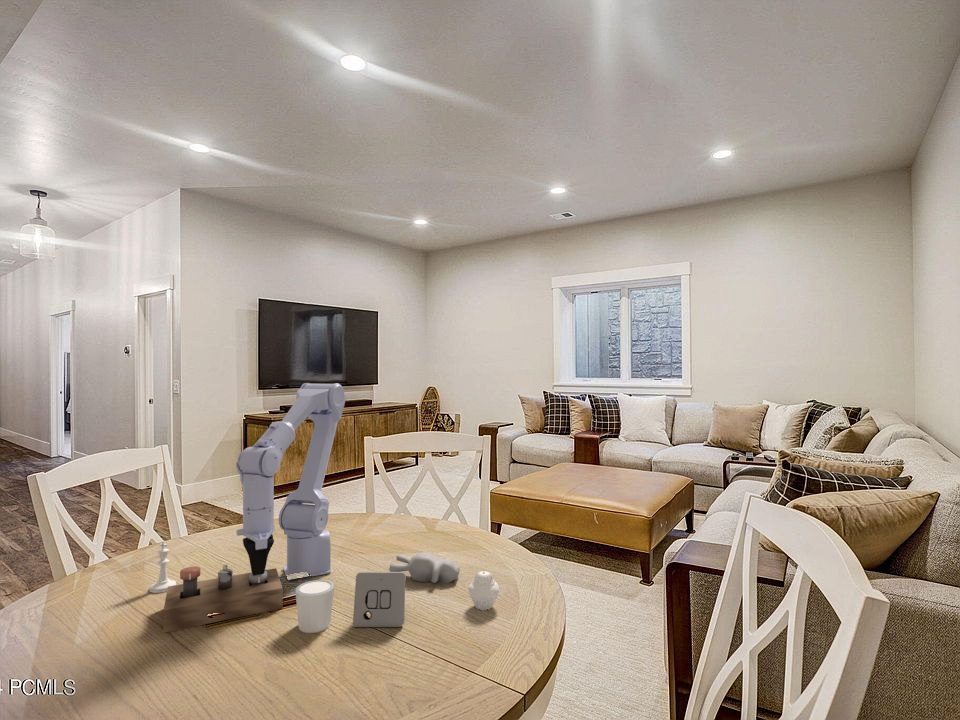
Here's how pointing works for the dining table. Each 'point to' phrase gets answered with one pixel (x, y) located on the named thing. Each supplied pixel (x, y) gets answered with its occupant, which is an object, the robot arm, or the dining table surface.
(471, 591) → the white owl figurine
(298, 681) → the dining table surface
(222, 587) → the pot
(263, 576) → the knob grey
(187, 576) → the knob red
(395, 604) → the electrical switch
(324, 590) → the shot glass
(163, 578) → the chess piece
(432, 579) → the bunny figurine
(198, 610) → the mount
